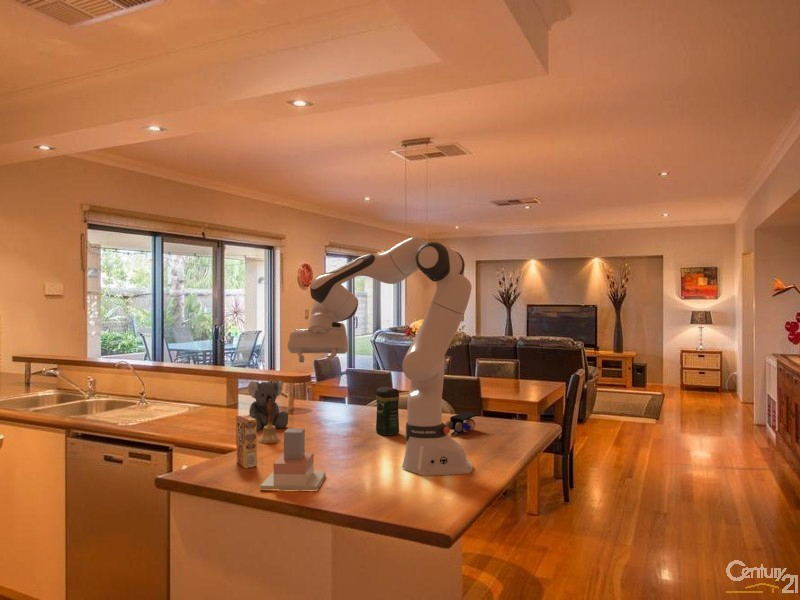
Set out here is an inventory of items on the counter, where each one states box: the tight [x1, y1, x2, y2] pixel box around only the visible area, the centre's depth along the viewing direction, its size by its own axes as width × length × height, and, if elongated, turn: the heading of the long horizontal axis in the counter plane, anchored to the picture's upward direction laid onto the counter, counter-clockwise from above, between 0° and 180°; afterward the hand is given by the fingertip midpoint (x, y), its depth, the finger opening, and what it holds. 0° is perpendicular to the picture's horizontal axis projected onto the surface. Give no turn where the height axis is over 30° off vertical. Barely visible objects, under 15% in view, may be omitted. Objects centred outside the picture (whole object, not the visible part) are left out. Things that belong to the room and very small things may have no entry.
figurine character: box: [445, 411, 479, 436], centre depth 231 cm, size 7×8×15 cm
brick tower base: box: [259, 451, 327, 491], centre depth 167 cm, size 16×14×8 cm
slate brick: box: [283, 427, 306, 460], centre depth 167 cm, size 5×5×8 cm
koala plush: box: [247, 380, 289, 431], centre depth 243 cm, size 17×18×20 cm
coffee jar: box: [375, 386, 400, 436], centre depth 229 cm, size 10×8×19 cm
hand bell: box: [257, 399, 281, 444], centre depth 217 cm, size 8×8×16 cm
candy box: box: [235, 414, 258, 469], centre depth 186 cm, size 9×4×15 cm, turn 35°
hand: (315, 361), depth 189 cm, fingers open, 8 cm apart
